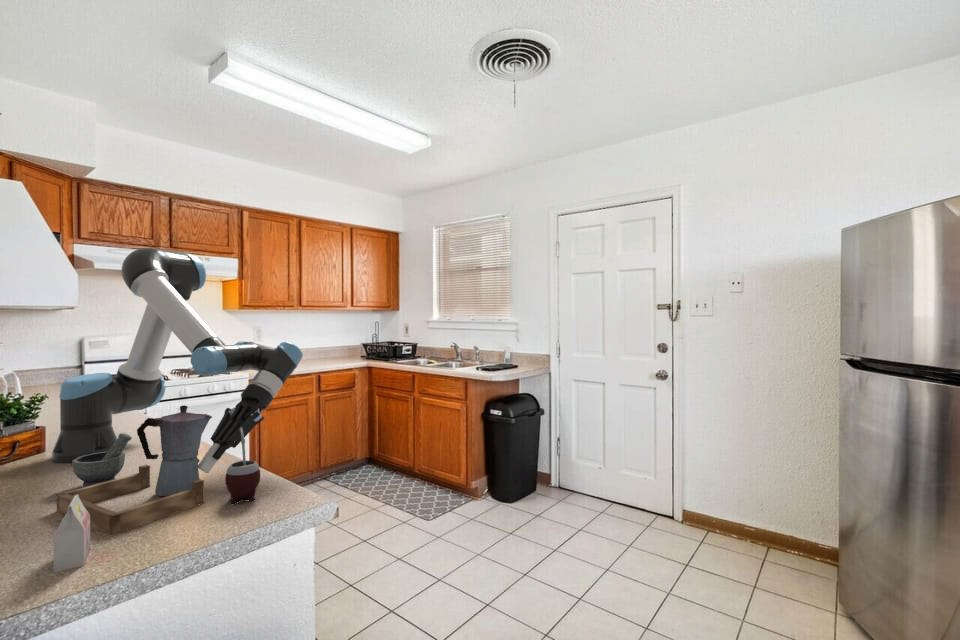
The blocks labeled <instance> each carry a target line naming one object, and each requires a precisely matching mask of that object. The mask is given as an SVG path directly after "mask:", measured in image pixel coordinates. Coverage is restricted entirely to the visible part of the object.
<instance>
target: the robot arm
mask: <svg viewBox="0 0 960 640" xmlns="http://www.w3.org/2000/svg"><path fill="white" fill-rule="evenodd" d="M206 271H207V270H206V268H205V266H204V262H202V260H201V259H200V258H199V257H198V256H196V255H194V254H191V253H187V252H184V251H175V250H166V249H159V248H154V247H141V248H139V249H134V250H133V251H131V252H130V253H129V254H128V255H127V256H126V257H125V258H124V260H123V261H122V264H121V277H122V279H123V281H124V283H125V285H126V286H127V288H128V289H129V290H130V292H132V294H133V295H134V296H136V297H138V298H139V297H140V298H142V299H143V300H144V301H145V302H146V306H145V310H144V312H143V315H142V317H141V322H140V323H139V326H138V330H137V333H136V335H135V337H134V342H133V344H132V347H131V349H130V353H129V354H128V357H127V360H126V362H124V363H122V364H120V365H119V367H118V369H117V372H116V374H115V375H114V376H113V375H112V374H111V373H109V372H96V373H88V374H87V373H85V374H80V375H76V376H72V377H69V378H66V379H65V380H64V381H62V383H61V385H60V391H59V403H60V405H59V407H60V408H59V409H60V412H59V413H60V416H59V417H60V419H59V420H60V421H59V422H60V424H59V425H60V427H59V428H60V431H59V434H58V437H57V439H56V442H55V443H54V444H55V445H54V447H53V449H52V452H51V461H52V460H53V462H54V461H55V463H61V464H62V463H65V464H66V463H72V460H74V459H76V458H78V457H80V456H85V455H89V454H93V453H100V452H108V451H109V450H110V448H111V447H112V446H113V444H114V443H115V442H116V440H117V439H118V437H117V435H116V433H115V430H114V428H113V415H117V414H122V413H128V412H133V411H142V410H145V409H148V408H151V407H154V406H156V405H157V404H158V403H159V402H160V401H161V400H162V399H163V398H164V396H165V393H166V387H167V386H166V385H165V384H166V382H165V379H164V377H163V372H162V370H160V365H161V363H162V360H163V357H164V354H165V351H166V349H167V346H168V343H169V342H170V341H169V340H170V338H171V335H172V333H173V334H174V336H176V337H177V339H178V340H179V341H180V342H181V343H182V344H183V345H184V347H186V349H187V350H188V351H189V352H190V354H191V356H190V364H191V366H192V370H193V372H195V373H196V374H197V375H199V376H219V375H221V374H222V375H223V374H229V373H238V372H244V371H257V373H256V374H255V375H254V376H253V378H252V379H251V380H250V382H249V384H247V386H246V387H245V388H244V389H243V391H242V392H241V394H240V398H241V400H240V401H239V402H238V403H237V404H236V405H235V407H233V408H230V407H226V408H225V410H224V413H223V416H222V418H221V419H220V421H219V423H218V425H217V426H216V428H215V430H214V432H213V434H211V437H210V440H211V442H213V443H212V446H211V447H210V448H209V449H208V451H207V452H206V453H205V455H204V457H203V458H201V459H202V460H200V461H199V463H198V470H200V471H201V472H204V473H206V474H209V473H210V472H211V470H212V469H213V468H214V467H215V465H216V464H217V462H218V461H219V460H220V459H221V458H222V457H223V455H224V454H225V453H226V451H227V450H228V449H230V448H232V449H234V448H236V447H237V446H238V445H239V444H240V443H241V439H242V438H241V432H240V428H242V429H243V434H244V439H245V438H246V436H248V434H250V432H252V430H253V429H254V428H255V427H256V426H257V425H258V424H259V423H261V422H262V421H264V418H265V417H264V415H262V414H261V413H262V411H264V410H267V409H268V407H269V406H270V405H271V402H272V401H273V400H274V397H276V396H277V394H278V393H279V391H280V390H281V388H282V387H283V386H284V385H285V383H286V381H287V380H288V379H289V377H290V376H291V374H293V372H294V371H295V370H296V369H297V367H298V365H299V364H300V362H301V361H302V359H303V351H302V350H301V349H300V348H299V347H298V346H297V345H295V343H292V342H289V341H283V342H280V343H279V344H278V345H277V347H272V346H267V345H263V344H259V343H256V342H253V341H245V340H239V341H238V342H236V343H234V344H229V345H227V344H226V343H224V342H223V340H221V339H220V337H219V336H218V335H217V334H216V333H215V332H214V331H213V330H212V328H210V326H209V325H208V324H207V323H206V322H205V321H204V319H202V318H201V316H200V315H199V314H198V313H197V312H196V311H195V310H194V309H193V307H192V306H191V305H190V304H189V303H188V301H189V300H190V298H191V296H192V294H193V292H195V291H199V290H200V289H202V288H203V287H204V285H205V283H206V280H207V272H206Z"/></svg>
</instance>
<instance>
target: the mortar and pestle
mask: <svg viewBox="0 0 960 640" xmlns="http://www.w3.org/2000/svg"><path fill="white" fill-rule="evenodd" d="M117 436H118V437H117V440H116V442H115V443H114V444H113V446H112V447H111V448H110V450H109V451H108V452H100V453H93V454H89V455H85V456H80V457H78V458H76V459H74V460H72V462H71V463H72V464H71V465H72V466H71V467H72V470H73V471H72V472H73V474H74V475H75V476H76V478H77V479H79V480H81V482H82V487H81V488H84V487H87V486H91V485H95V484H99V483H103V482H106V481H110V480H114V479H116V476H117V475H118V474H119V473H120V472H121V471H122V468H124V465H125V460H126V459H125V458H126V457H125V456H126V455H125V454H126V453H124V450H125V448H126V446H127V444H128V443H129V442H130V441H131V440H132V436H131V435H130V434H128V433H124V432H121V433H119V434H118V435H117Z"/></svg>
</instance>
